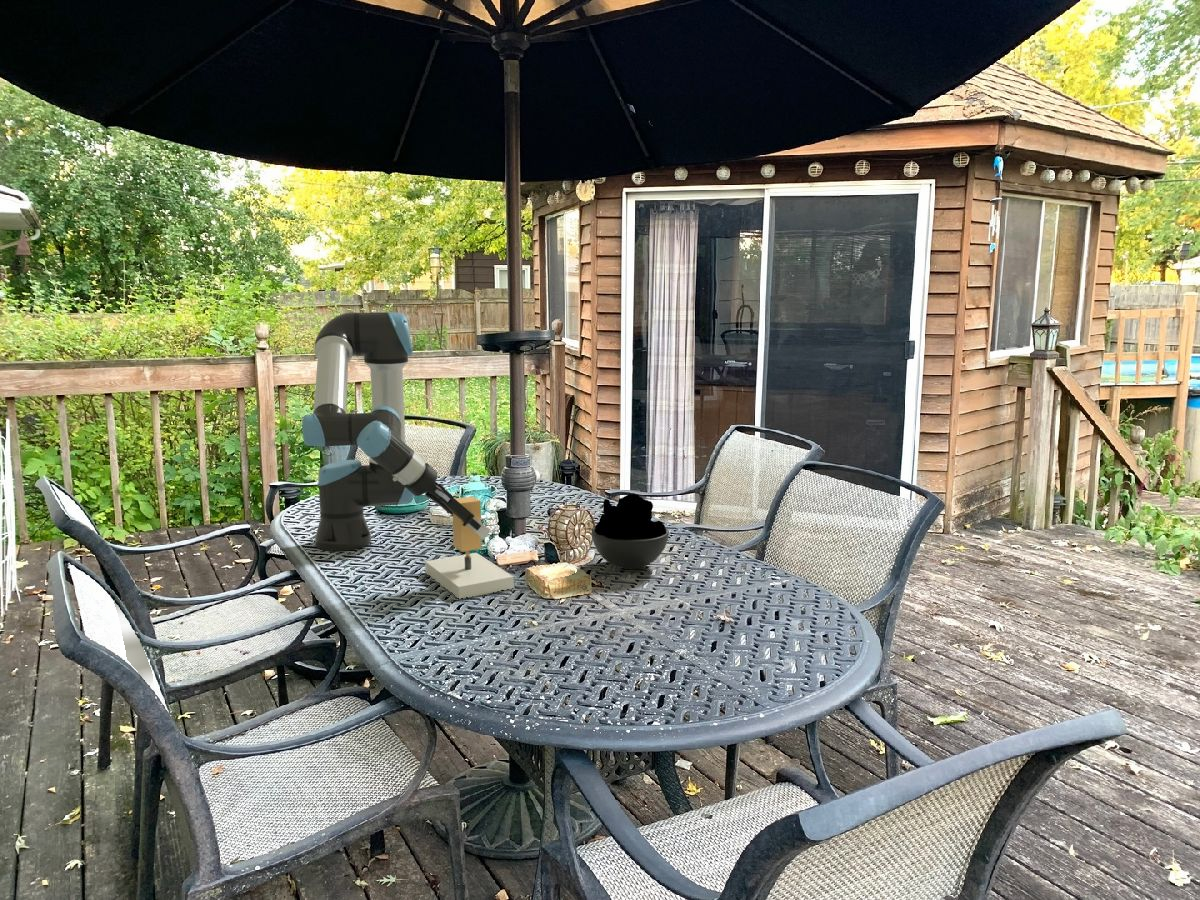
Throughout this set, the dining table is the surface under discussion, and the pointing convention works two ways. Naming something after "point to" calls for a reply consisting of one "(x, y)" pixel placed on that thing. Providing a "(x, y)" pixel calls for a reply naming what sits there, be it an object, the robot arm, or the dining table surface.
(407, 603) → the dining table surface
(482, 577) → the plate
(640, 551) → the coal bowl
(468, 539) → the tan upright carton
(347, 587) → the dining table surface
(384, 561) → the dining table surface
